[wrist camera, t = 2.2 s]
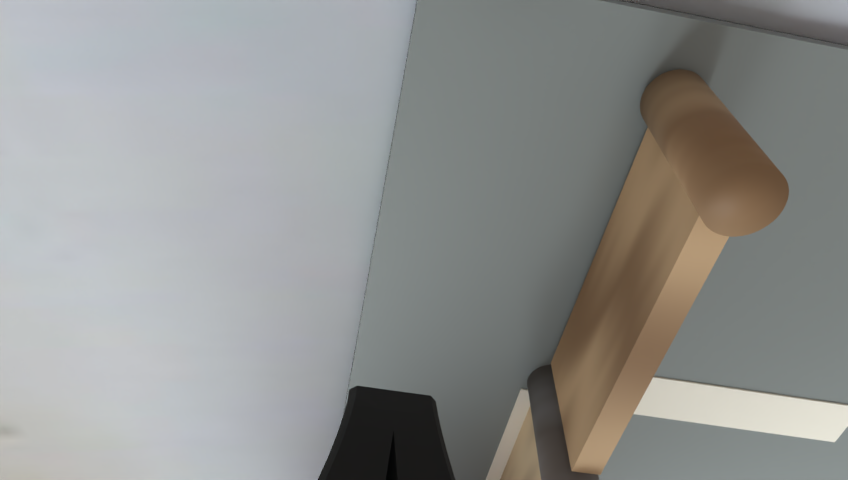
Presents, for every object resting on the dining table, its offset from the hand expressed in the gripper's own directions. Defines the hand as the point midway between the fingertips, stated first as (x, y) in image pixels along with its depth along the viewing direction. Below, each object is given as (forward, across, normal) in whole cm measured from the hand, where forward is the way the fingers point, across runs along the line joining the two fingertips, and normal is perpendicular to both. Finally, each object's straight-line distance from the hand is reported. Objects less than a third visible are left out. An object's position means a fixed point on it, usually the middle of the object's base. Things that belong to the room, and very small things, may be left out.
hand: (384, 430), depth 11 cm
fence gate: (+8, -6, +1) cm, 10 cm away
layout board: (+9, -10, +6) cm, 14 cm away
